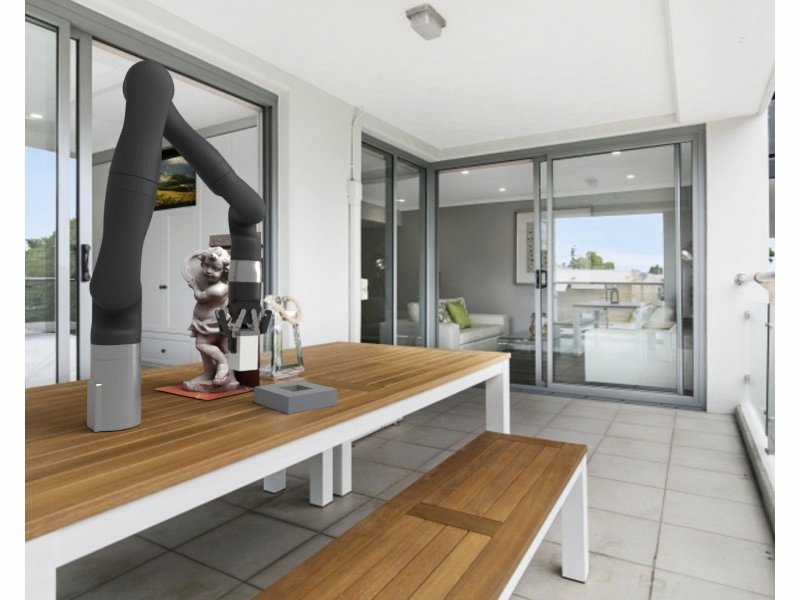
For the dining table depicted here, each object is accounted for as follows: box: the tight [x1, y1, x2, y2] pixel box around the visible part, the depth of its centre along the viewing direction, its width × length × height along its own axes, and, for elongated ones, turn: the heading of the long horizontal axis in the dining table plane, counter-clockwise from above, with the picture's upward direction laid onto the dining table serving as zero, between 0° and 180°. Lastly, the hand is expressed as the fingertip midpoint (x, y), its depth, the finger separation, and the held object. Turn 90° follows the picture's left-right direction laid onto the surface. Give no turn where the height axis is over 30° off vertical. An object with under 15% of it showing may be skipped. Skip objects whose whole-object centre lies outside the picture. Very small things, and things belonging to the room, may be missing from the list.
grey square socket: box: [253, 379, 338, 415], centre depth 127 cm, size 14×16×4 cm
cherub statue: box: [155, 231, 264, 401], centre depth 142 cm, size 23×19×45 cm
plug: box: [228, 330, 258, 371], centre depth 119 cm, size 4×6×9 cm
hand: (243, 352), depth 119 cm, fingers closed on plug, 4 cm apart
